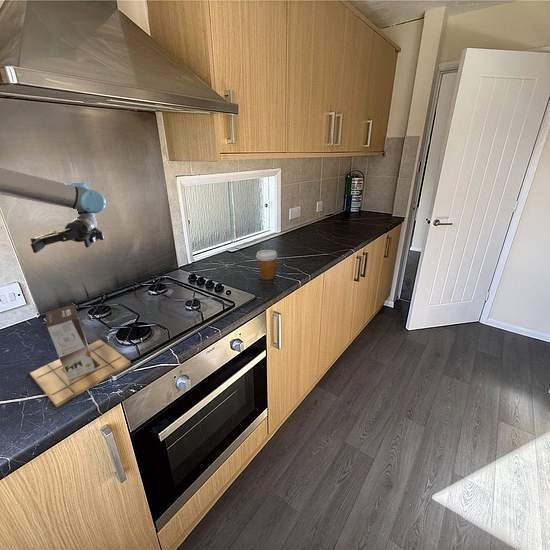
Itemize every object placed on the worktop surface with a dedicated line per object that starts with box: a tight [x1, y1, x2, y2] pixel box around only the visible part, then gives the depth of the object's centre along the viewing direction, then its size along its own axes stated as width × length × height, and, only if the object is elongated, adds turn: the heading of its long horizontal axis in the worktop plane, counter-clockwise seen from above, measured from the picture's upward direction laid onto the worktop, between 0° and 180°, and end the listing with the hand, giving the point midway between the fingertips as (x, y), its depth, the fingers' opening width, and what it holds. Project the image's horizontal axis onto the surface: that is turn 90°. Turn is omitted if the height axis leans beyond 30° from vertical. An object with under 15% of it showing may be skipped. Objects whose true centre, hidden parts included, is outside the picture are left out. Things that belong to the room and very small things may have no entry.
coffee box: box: [45, 304, 95, 380], centre depth 76 cm, size 9×6×16 cm
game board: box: [29, 339, 132, 408], centre depth 79 cm, size 18×18×2 cm
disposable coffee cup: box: [255, 249, 279, 280], centre depth 131 cm, size 10×10×12 cm
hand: (60, 245), depth 88 cm, fingers open, 13 cm apart
